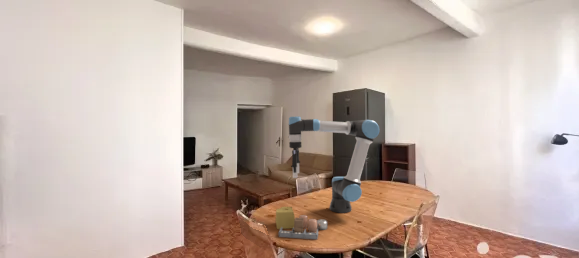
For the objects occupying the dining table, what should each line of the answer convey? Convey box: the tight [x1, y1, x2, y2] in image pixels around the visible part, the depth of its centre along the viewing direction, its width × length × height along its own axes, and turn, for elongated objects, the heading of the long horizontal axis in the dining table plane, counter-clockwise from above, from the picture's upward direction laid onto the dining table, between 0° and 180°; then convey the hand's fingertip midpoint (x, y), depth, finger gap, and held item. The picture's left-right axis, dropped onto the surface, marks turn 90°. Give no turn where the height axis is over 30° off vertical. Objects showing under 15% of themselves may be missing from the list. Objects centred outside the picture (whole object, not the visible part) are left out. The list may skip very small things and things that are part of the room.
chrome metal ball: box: [316, 218, 328, 231], centre depth 153 cm, size 6×6×4 cm
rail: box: [278, 227, 319, 240], centre depth 144 cm, size 21×8×3 cm, turn 80°
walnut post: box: [294, 217, 304, 233], centre depth 145 cm, size 4×4×8 cm
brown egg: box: [298, 214, 309, 229], centre depth 156 cm, size 5×5×6 cm
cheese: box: [275, 206, 296, 230], centre depth 157 cm, size 10×11×10 cm
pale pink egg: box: [307, 218, 317, 233], centre depth 149 cm, size 5×5×6 cm
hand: (296, 175), depth 164 cm, fingers open, 13 cm apart
